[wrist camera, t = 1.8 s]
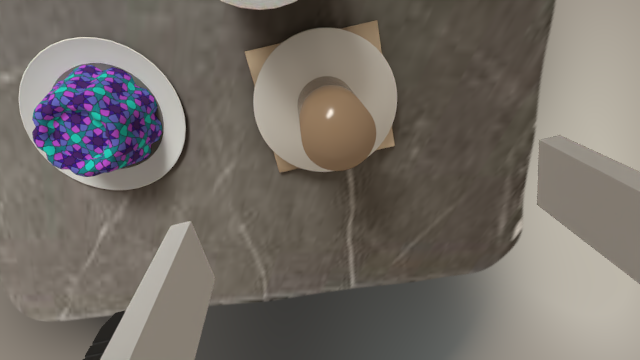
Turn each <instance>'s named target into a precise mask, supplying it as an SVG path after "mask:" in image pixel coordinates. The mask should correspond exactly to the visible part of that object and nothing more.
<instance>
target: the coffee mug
mask: <svg viewBox="0 0 640 360" xmlns="http://www.w3.org/2000/svg"><path fill="white" fill-rule="evenodd" d="M220 1H222V2H224V3H227V4H230V5H233V6H236V7H239V8H245V9H254V10H264V9H274V8H279V7H282V6H285V5H288V4H291V3H294V2H295V1H297V0H220Z"/></svg>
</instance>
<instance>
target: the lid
mask: <svg viewBox="0 0 640 360" xmlns="http://www.w3.org/2000/svg"><path fill="white" fill-rule="evenodd" d="M253 106H254V115H255V119H256V123H257V126H258V128H259V131H260V133H261V135H262V137H263V138H264V140H265V141H266V143H267V144H268V146H269V147H270V148H271V149H272V150H273V151H274V152H275V153H276V154H277V155H278V156H279V157H281V158H282V159H283V160H285V161H287V162H288V163H290V164H292V165H294V166H296V167H299V168H302V169H305V170H310V171H317V172H331V171H342V170H347V169H351V168H353V167H355V166H357V165H359V164H360V163H361V162H363V161H364V160H365V159H366V158H367V157H368V156H370V155H371V154H372V153H373V152H374V151H375V150H376V149H377V148H378V147H379V146H380V145H381V143H382V142H383V141H384V139H385V138H386V136H387V135H388V133H389V131H390V129H391V126H392V124H393V121H394V118H395V114H396V109H397V88H396V83H395V79H394V76H393V73H392V70H391V68H390V66H389V64H388V62H387V61H386V59H385V58H384V56H383V55H382V54H381V53H380V51H379V50H378V49H377V48H376V47H375V46H373V45H372V44H371V43H370V42H369V41H367V40H366V39H364V38H362V37H361V36H359V35H356V34H354V33H352V32H349V31H346V30H342V29H339V28H331V27H320V28H313V29H308V30H305V31H302V32H299V33H297V34H295V35H293V36H291V37H289V38H288V39H286V40H285V41H283V42H282V43H281V44H280V45H278V46H277V47H276V48H275V49H274V50H273V51H272V53H271V54H270V55H269V56H268V58H267V59H266V61H265V62H264V64H263V66H262V68H261V70H260V72H259V75H258V78H257V81H256V84H255V90H254V99H253Z"/></svg>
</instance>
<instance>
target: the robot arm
mask: <svg viewBox="0 0 640 360" xmlns="http://www.w3.org/2000/svg"><path fill="white" fill-rule="evenodd" d="M537 195H538V196H537V205H538V206H540V207H541V208H542V209H543V210H545V211H546V212H547V213H549V214H550V215H551V216H553V217H554V218H555V219H556V220H558V221H559V222H560V223H562V224H563V225H564V226H565V227H567V228H568V229H569V230H571V231H572V232H573V233H574V234H576V235H577V236H578V237H580V238H581V239H582V240H584V241H585V242H586V243H587V244H589V245H590V246H591V247H593V248H594V249H595V250H596V251H598V252H599V253H600V254H602V255H603V256H604V257H605V258H607V259H608V260H609V261H611V262H612V263H613V264H614V265H616V266H617V267H618V268H620V269H621V270H622V271H624V272H625V273H626V274H627V275H629V276H630V277H631V278H633V279H634V280H635V281H637V282H638V283H639V284H640V172H639V171H637V170H635V169H632V168H630V167H628V166H626V165H624V164H622V163H619V162H617V161H615V160H613V159H611V158H608V157H606V156H604V155H602V154H600V153H598V152H595V151H593V150H591V149H589V148H586V147H585V146H582V145H580V144H578V143H576V142H574V141H571V140H569V139H567V138H565V137H562V136H560V135H559V136H554V137H550V138H546V139H541V140H539V165H538V194H537ZM214 282H215V277H214V275H213V272H212V270H211V267H210V265H209V263H208V260H207V258H206V256H205V253H204V251H203V248H202V246H201V244H200V241H199V239H198V237H197V234H196V232H195V229H194V227H193V225H192V222H191V221H189V222H184V223H180V224H176V225H172V226H170V228H169V230H168V232H167V234H166V236H165V238H164V240H163V242H162V243H161V245H160V247H159V249H158V251H157V253H156V255H155V257H154V259H153V260H152V262H151V264H150V266H149V268H148V270H147V272H146V274H145V276H144V277H143V279H142V281H141V283H140V285H139V287H138V289H137V291H136V293H135V295H134V296H133V298H132V300H131V302H130V304H129V306H128V308H127V310H126V311H122V312H117V313H115V314H114V315H113V316H112V317H111V318H110V319H109V320H108V321H107V322H106V323H105V324H104V325H103V326H102V328H101V329H100V331H99V333H98V334H97V336H96V338H95V340H94V341H93V345H92V346H90V348H89V350H88V351H87V353H86V355H85V359H83V360H194V359H195V355H196V351H197V347H198V344H199V339H200V336H201V332H202V328H203V324H204V320H205V317H206V313H207V309H208V305H209V301H210V297H211V293H212V290H213V286H214Z"/></svg>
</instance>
